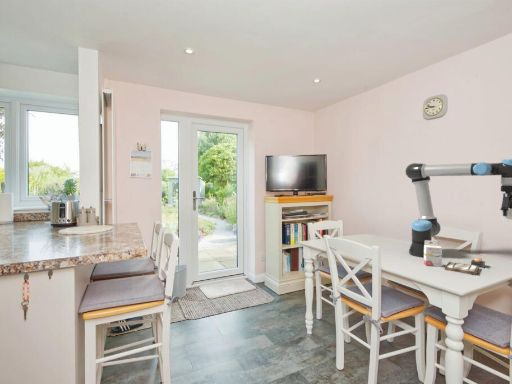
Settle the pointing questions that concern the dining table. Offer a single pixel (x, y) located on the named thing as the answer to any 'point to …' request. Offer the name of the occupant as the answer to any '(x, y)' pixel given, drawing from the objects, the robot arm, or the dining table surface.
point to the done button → (478, 260)
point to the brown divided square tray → (462, 268)
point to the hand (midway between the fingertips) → (508, 220)
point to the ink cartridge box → (432, 253)
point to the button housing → (478, 264)
